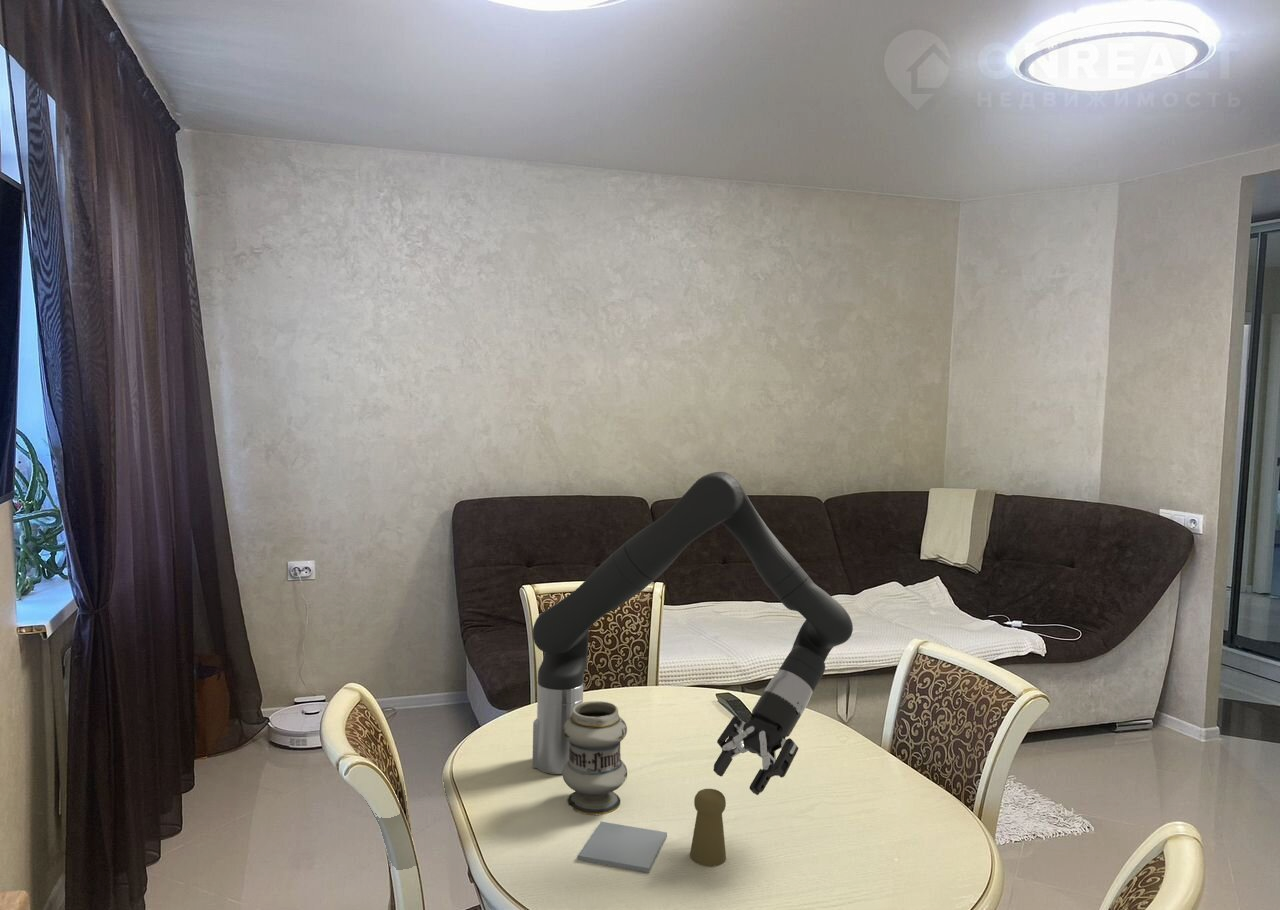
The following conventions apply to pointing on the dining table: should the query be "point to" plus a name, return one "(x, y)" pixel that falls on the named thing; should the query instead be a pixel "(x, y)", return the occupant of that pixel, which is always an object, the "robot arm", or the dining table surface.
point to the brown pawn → (709, 829)
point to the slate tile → (623, 847)
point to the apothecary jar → (594, 757)
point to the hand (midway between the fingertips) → (734, 782)
